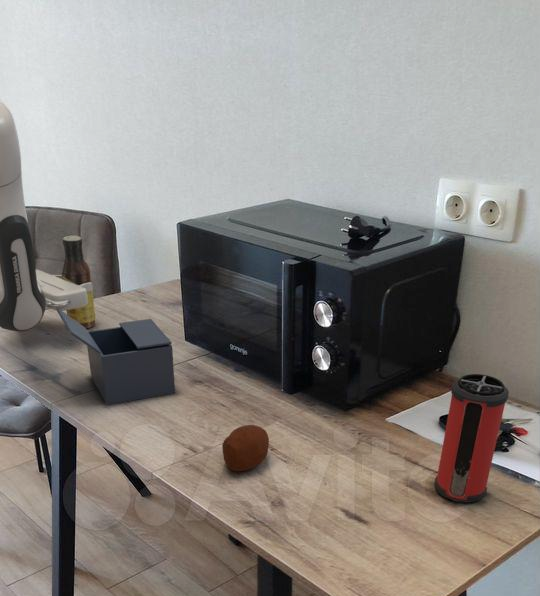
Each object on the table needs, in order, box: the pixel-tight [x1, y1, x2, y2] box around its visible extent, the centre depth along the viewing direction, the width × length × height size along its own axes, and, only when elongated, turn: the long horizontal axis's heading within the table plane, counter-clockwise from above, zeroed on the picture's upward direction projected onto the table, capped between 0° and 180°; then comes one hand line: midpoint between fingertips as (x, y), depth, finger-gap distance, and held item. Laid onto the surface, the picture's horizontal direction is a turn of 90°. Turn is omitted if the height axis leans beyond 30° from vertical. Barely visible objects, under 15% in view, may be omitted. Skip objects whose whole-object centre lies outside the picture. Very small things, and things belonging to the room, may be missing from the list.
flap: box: [55, 308, 101, 354], centre depth 126 cm, size 6×13×1 cm
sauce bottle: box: [61, 235, 96, 329], centre depth 156 cm, size 7×6×20 cm
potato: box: [221, 424, 270, 472], centre depth 111 cm, size 7×9×6 cm
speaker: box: [434, 373, 510, 504], centre depth 103 cm, size 8×8×18 cm
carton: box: [86, 318, 176, 406], centre depth 133 cm, size 13×13×10 cm
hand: (80, 281), depth 157 cm, fingers closed on sauce bottle, 6 cm apart
